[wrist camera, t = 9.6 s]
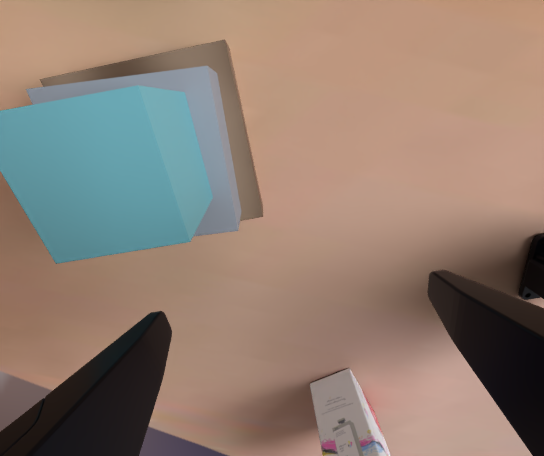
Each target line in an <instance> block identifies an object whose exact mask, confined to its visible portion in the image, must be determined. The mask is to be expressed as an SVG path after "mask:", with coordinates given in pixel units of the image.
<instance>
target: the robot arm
mask: <svg viewBox="0 0 544 456" xmlns="http://www.w3.org/2000/svg"><path fill="white" fill-rule="evenodd" d="M519 296H520V297H521V298H523V299H524V300H528V299H534V298H540V297H541V298H543V299H544V234H540V235H537V236H536V237H535V238H534V239H533V241H532V245H531V248H530V252H529V256H528V260H527V263H526V267H525V271H524V275H523V278H522V282H521V286H520V290H519ZM428 297H429V299H430V301H431V303H432V305H433V307H434V308H435V310H436V312H437V314H438V316H439V317H440V319H441V321H442V323H443V325H444V326H445V328H446V330H447V332H448V334H449V335H450V337H451V339H452V340H453V342H454V343H455V345H456V346H457V348H458V349H459V351H460V352H461V354H462V355H463V357H464V358H465V359H466V361H467V362H468V364H469V365H470V367H471V368H472V369H473V371H474V372H475V374H476V375H477V377H478V378H479V379H480V381H481V382H482V384H483V385H484V387H485V388H486V390H487V391H488V392H489V394H490V395H491V397H492V398H493V400H494V401H495V402H496V404H497V405H498V407H499V408H500V410H501V411H502V412H503V414H504V415H505V417H506V418H507V420H508V421H509V422H510V424H511V425H512V427H513V428H514V430H515V431H516V432H517V434H518V435H519V437H520V438H521V440H522V441H523V442H524V444H525V445H526V447H527V448H528V450H529V451H530V452H531V454H532V455H533V456H544V308H542V307H539V306H536V305H534V304H531V303H529V302H526V301H523V300H521V299H518V298H516V297H513V296H511V295H508V294H505V293H503V292H500V291H498V290H495V289H492V288H490V287H487V286H485V285H482V284H480V283H477V282H474V281H472V280H469V279H467V278H464V277H462V276H459V275H456V274H454V273H451V272H449V271H446V270H438V271H432V272H430V274H429V281H428ZM171 337H172V330H171V327H170V324H169V322H168V320H167V317H166V315H165V313H164V312H162V311H158V312H152V313H150V314H148V315H147V316H146V317H144V318H143V319H142V320H141V321H139V322H138V323H137V324H136V325H134V326H133V327H132V328H131V329H129V330H128V331H127V332H126V333H124V334H123V335H122V336H121V337H119V338H118V339H117V340H116V341H114V342H113V343H112V344H111V345H109V346H108V347H107V348H106V349H104V350H103V351H102V352H101V353H99V354H98V355H97V356H96V357H94V358H93V359H92V360H91V361H89V362H88V363H87V364H86V365H84V366H83V367H82V368H81V369H79V370H78V371H77V372H75V373H74V374H73V375H72V376H70V377H69V378H68V379H67V380H65V381H64V382H63V383H62V384H60V385H59V386H58V387H57V388H55V389H54V390H53V391H52V392H50V394H48V395H47V396H46V397H45V398H43V399H42V400H40V401H39V402H38V403H37V404H35V405H34V406H33V407H32V408H30V409H29V410H28V411H27V412H25V413H24V414H23V415H22V416H20V417H19V418H18V419H16V420H15V421H14V422H12V423H11V424H10V425H9V426H7V427H6V428H5V429H3V430H2V431H1V432H0V456H139V454H140V450H141V447H142V444H143V441H144V437H145V434H146V431H147V428H148V425H149V422H150V418H151V415H152V412H153V409H154V406H155V402H156V399H157V396H158V393H159V390H160V386H161V383H162V379H163V375H164V371H165V366H166V361H167V356H168V351H169V346H170V342H171Z"/></svg>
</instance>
